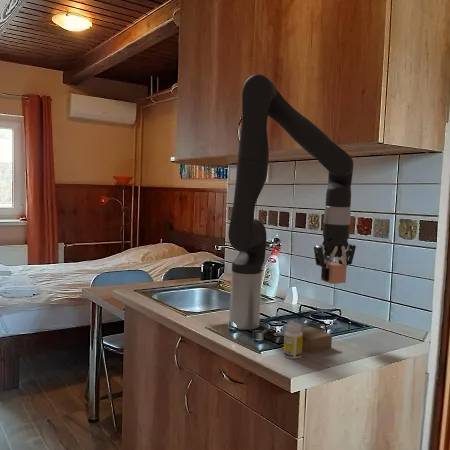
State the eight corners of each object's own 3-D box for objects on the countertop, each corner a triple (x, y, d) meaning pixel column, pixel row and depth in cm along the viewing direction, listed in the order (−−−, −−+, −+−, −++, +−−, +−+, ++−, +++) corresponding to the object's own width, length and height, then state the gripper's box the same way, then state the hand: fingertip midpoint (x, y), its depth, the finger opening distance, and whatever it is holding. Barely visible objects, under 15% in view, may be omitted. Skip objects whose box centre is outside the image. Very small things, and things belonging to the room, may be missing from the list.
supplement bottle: (299, 352, 124) (301, 321, 124) (303, 359, 120) (305, 327, 119) (282, 352, 124) (283, 321, 123) (284, 359, 120) (286, 327, 119)
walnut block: (290, 344, 131) (290, 331, 130) (310, 340, 135) (311, 326, 135) (310, 354, 124) (311, 339, 124) (331, 348, 129) (332, 335, 128)
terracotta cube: (320, 280, 137) (321, 263, 136) (334, 278, 139) (335, 262, 139) (331, 283, 132) (333, 266, 132) (345, 282, 135) (346, 265, 134)
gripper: (347, 220, 140) (343, 275, 142) (308, 221, 134) (305, 278, 136) (365, 223, 134) (360, 281, 136) (325, 223, 127) (321, 284, 129)
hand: (333, 279), depth 136 cm, fingers closed on terracotta cube, 5 cm apart
